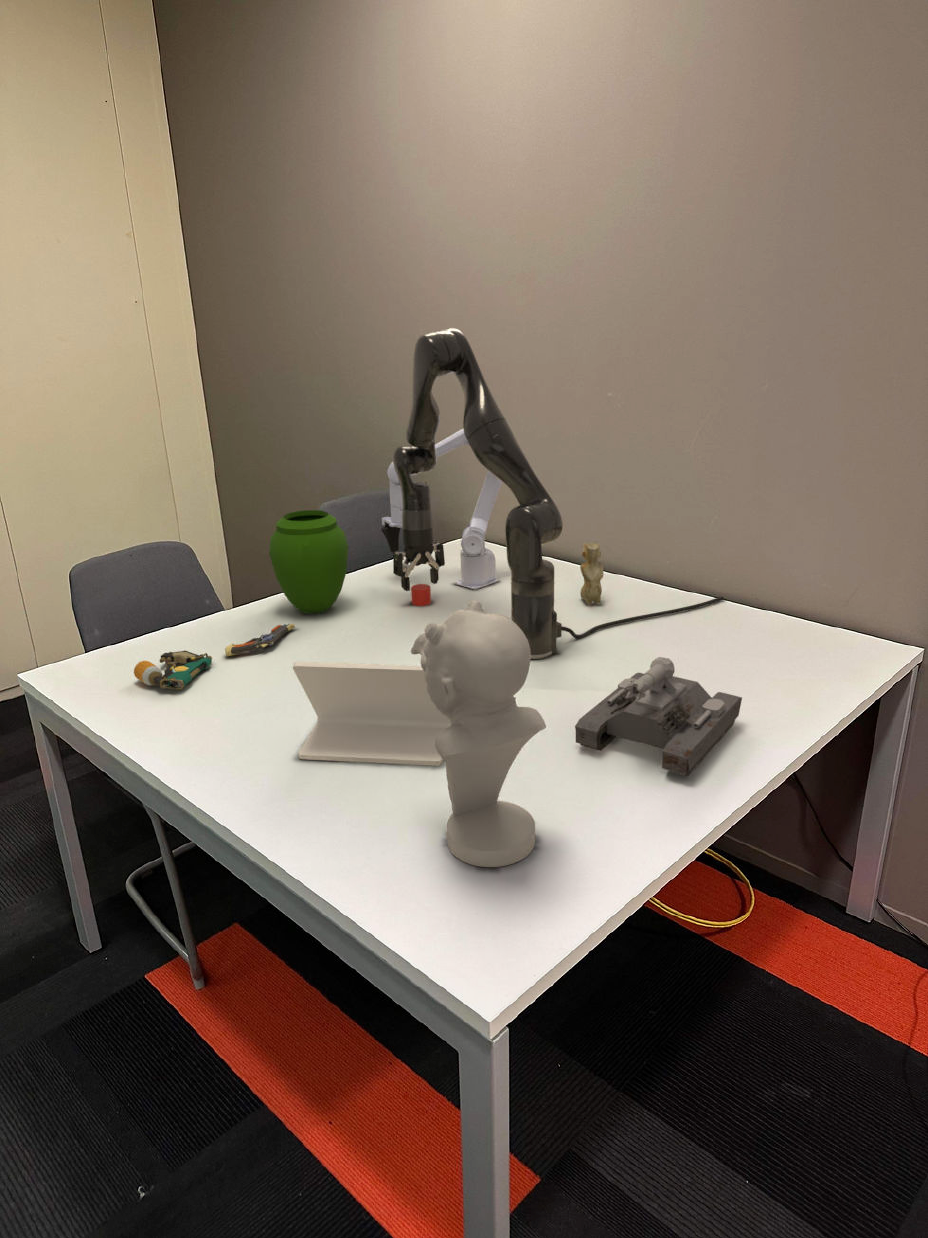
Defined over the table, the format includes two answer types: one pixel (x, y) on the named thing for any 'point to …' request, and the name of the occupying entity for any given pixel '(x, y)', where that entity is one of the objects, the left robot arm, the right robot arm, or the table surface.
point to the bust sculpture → (481, 729)
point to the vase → (309, 559)
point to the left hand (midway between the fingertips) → (403, 554)
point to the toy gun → (259, 640)
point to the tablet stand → (370, 713)
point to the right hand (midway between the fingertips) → (420, 586)
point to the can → (421, 594)
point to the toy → (661, 717)
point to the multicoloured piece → (172, 669)
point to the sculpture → (591, 574)
